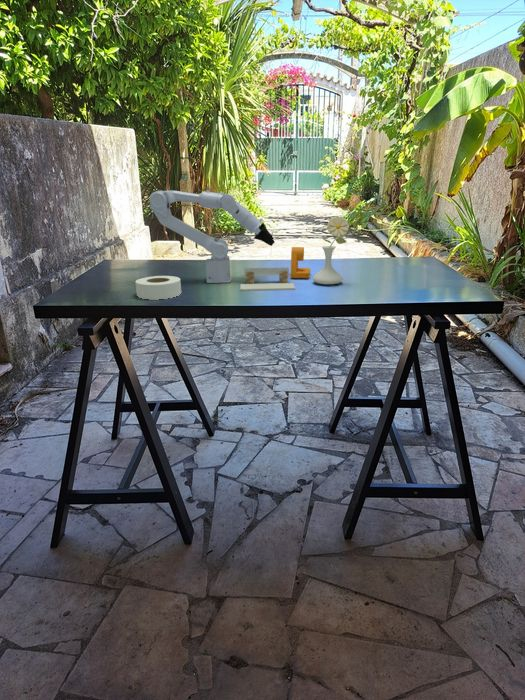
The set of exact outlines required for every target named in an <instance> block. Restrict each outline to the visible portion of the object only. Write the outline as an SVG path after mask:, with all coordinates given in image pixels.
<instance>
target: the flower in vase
mask: <svg viewBox="0 0 525 700" xmlns="http://www.w3.org/2000/svg"><path fill="white" fill-rule="evenodd" d="M349 228H350V224H349V222H348V220H347V219H346V218H345V217H343V216H339V215H336V216H334V217H332V218H330V219H329V220H328V223H327V225H326V229H327V232H329V235H331V236H333V237H334V239H333V241H332V242H331V241H330V240H328V239H325V238H324V237H322V240H323V241H325V242H327V243H329V244H330V245H324V246H321V248H322V249H323V251H324V255H325V256H324V257H325V262H324V263H325V264H324V266H323V267H322V268H321V270H319V271H318V272H317V273H315V275H314V276H313V277H312V280H313V282H314V283H316V284H320V285H335V284H339V283H342V281H343V280H344V278H343V276H342V275H341V274H340V272H338V271H337V270H336V269H335V268H334V267H333V266H332V256H333V253H334V250H335V249H336V246H333V244H334V242H336V243H337V244H338V245H342V244H345V243H347V240H346V239H345V238H344V237H342V236H345V235H346V234H348V231H349Z"/></svg>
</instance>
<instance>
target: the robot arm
mask: <svg viewBox="0 0 525 700" xmlns="http://www.w3.org/2000/svg"><path fill="white" fill-rule="evenodd" d="M148 200H149V201H148V202H149V207H150V209H151V211H152V212H153V214H154V215H155V217H156V219H157V220H158V221H159V223H160V224H161V225H162V226H164V227H166V228H167V229H169V230H171V231H173V232H175V233H177V234H179V235H180V236H182V237H184V238H186V239H187V240H189V241H192V242H193V243H195V244H196V245H199V246H200V247H203V248H204V249H205V250H206V251H207V252H209V253H210V254H211V255H212V256H210V258H206V259H205V278H206V283H207V284H210V283H211V284H215V283H216V284H218V283H220V284H223V283H228V284H229V283H232V280H233V279H232V278H233V277H231V266H230V261H231V260H230V256H229V255H228V253H229V246H228V243H227V242H226V241H225V240H224V239H221V238H220V239H217V238H216V237H214V236H210V235H208V234H207V233H204V232H202V231H201V230H199V229H197V228H195V227H194V226H192V225H190V224H188V223H186V222H185V221H183V220H181V219H179V218H178V217H176V216H173V215H172V211H171V207H170V204H173V203H176V202H184V203H186V202H187V203H195V204H199V206H200V207H201V208H207V209H215V210H219V209H221V210H223V211H225V212H228V214H230V215H231V217H232V218H233V219H234V220H235V221H236V222H238V223H239V224H240V225H241V226H242V227H243V228H245V230H247V231H248V233H250V234H254V235H255V236H254V239H255V240H258V241H260V242H264V243H265V244H267V245H268V246H270V247H272V246H273V245H274V244H275V242H276V241H275V240H274V236H273V235H272V233H270V231H269V230H268V229H267V227H266V225H265V223H264V222H262V221H263V220H264V219H263V218H260V219H258V218H257V216H256V215H254V214H253V213H252V212H250V210H249V209H247V208H246V207H245V206H244V205H243V204H241V203H240V202H239V201H237V200H236V199H235V197H234V196H233V195H232V194H229V193H223V191H220V192H211V190H209V189H206V191H205V190H204V191H202V192H201V193H199V194H198V193H192V192H185V191H182V190H181V191H179V190H161V189H160V190H157V191H154V192H151V194H150V195H149V198H148Z"/></svg>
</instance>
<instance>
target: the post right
mask: <svg viewBox="0 0 525 700" xmlns="http://www.w3.org/2000/svg"><path fill="white" fill-rule="evenodd" d="M278 277H279V279H278V282H279V283H289V280H288V278H289V275H288V272H280V275H278Z"/></svg>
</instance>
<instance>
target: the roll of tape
mask: <svg viewBox="0 0 525 700" xmlns="http://www.w3.org/2000/svg"><path fill="white" fill-rule="evenodd" d="M134 283H135V291H136V296H138V297H139V298H138V297H137V298H138V299H140V298H142V299H141V300H144V299H149V300H148V301H160V300H159V299H164V300H169V299H168V298H170V299H174V298H173V297H175V298H177V297H176V296H178V297H180V296H181V295H182V294H181V293H182V282H181V278H180V277H178V276H173V275H155V276H146V277H143V278H142V277H141V278H139V279H136V280H135V282H134ZM180 294H181V295H180ZM179 295H180V296H179Z"/></svg>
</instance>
